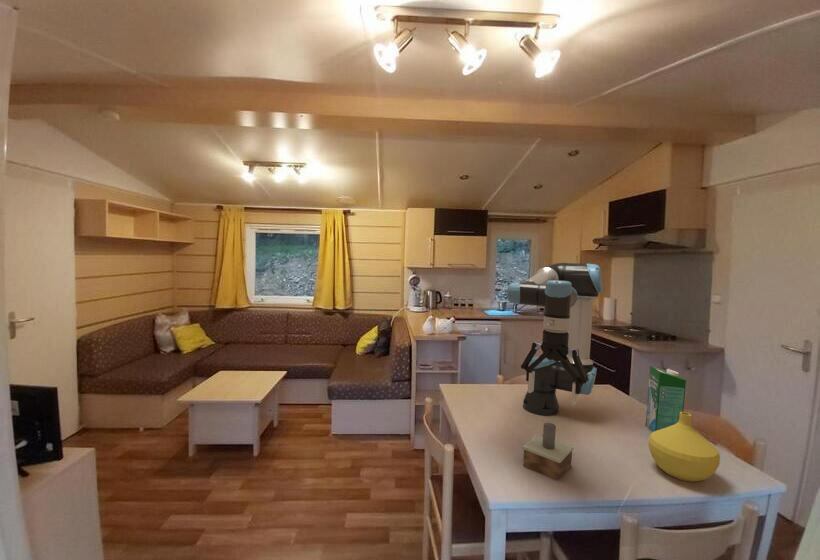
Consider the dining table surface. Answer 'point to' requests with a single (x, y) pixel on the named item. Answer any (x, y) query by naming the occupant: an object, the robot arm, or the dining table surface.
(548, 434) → the lid
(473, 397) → the dining table surface
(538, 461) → the walnut box
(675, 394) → the milk carton
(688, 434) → the vase
